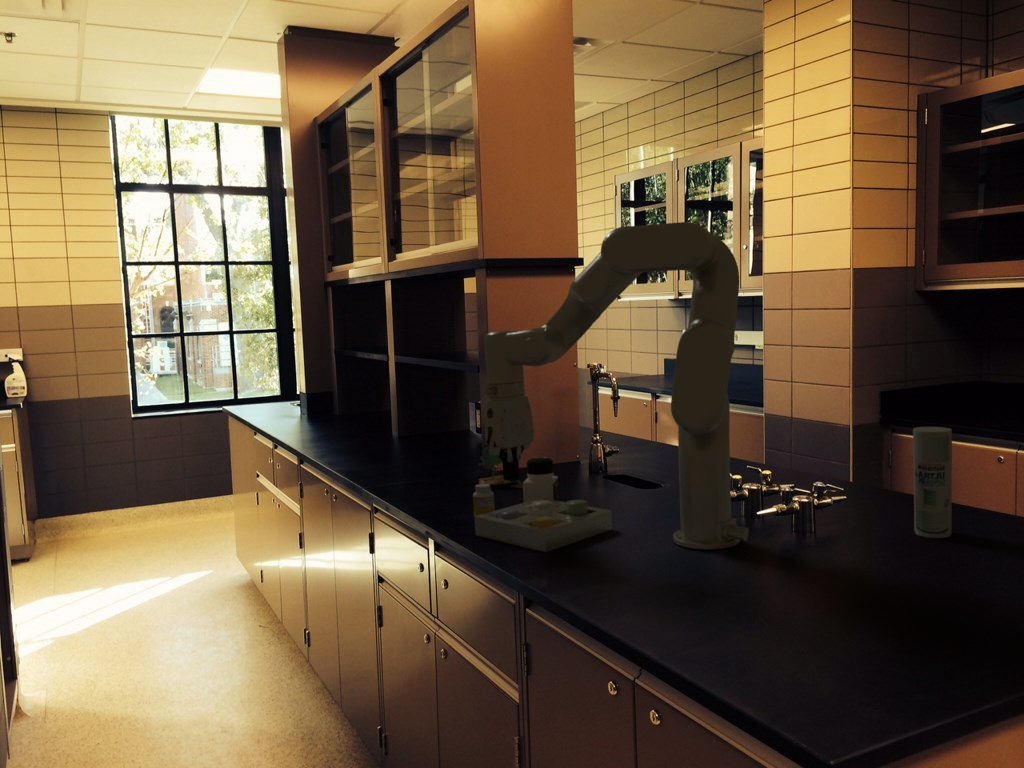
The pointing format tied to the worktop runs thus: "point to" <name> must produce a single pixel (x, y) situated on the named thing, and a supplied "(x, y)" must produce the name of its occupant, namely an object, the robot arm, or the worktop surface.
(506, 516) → the slate button
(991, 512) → the worktop surface
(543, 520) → the amber rounded lump
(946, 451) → the spray can
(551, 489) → the medicine bottle
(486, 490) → the supplement bottle
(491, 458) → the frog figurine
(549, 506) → the ivory button
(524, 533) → the panel
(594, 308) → the robot arm
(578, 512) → the sage button
